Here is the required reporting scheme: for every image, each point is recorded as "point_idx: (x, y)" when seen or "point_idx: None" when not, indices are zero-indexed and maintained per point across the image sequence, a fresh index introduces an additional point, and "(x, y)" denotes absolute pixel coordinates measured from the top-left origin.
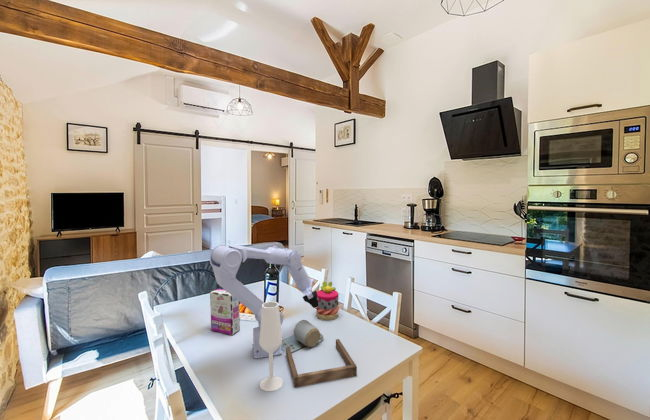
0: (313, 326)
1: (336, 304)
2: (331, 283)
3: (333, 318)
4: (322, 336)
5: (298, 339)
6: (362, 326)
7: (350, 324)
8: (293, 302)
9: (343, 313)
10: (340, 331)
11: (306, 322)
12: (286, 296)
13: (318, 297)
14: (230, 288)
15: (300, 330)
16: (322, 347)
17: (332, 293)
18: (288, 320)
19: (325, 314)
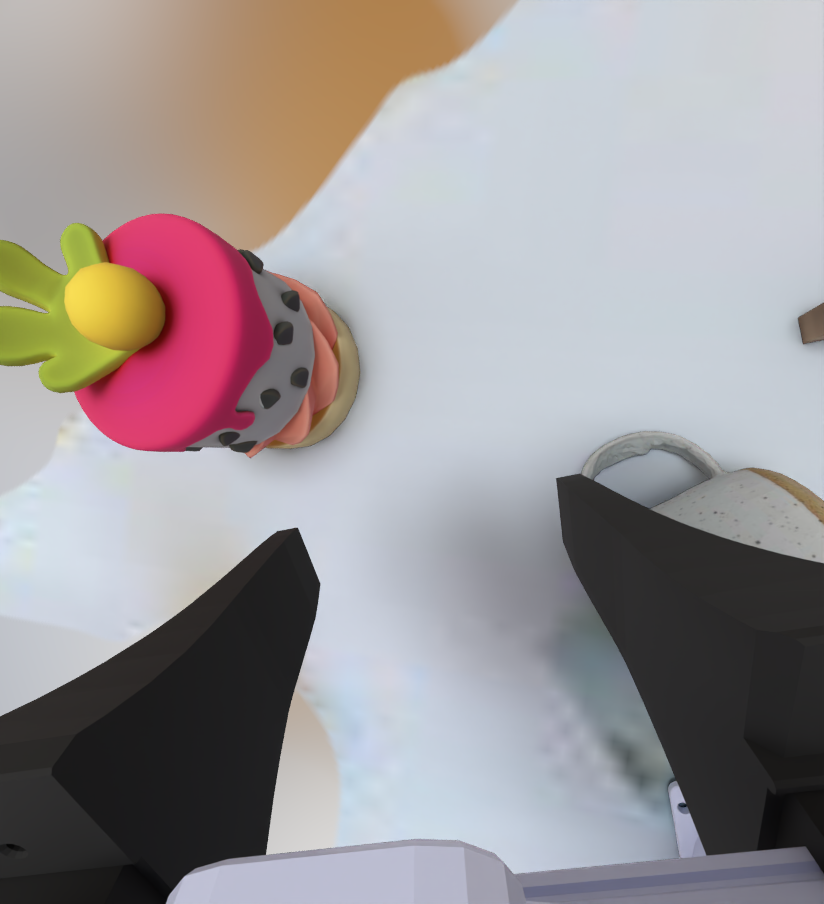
0: (800, 550)
1: (268, 272)
2: (3, 251)
3: (347, 331)
4: (687, 441)
5: None
6: (474, 122)
7: (433, 213)
8: (107, 575)
9: (274, 259)
10: (531, 292)
11: None
12: (37, 607)
13: (209, 431)
14: None
15: None
16: (785, 452)
17: (176, 267)
18: (327, 646)
19: (335, 384)
